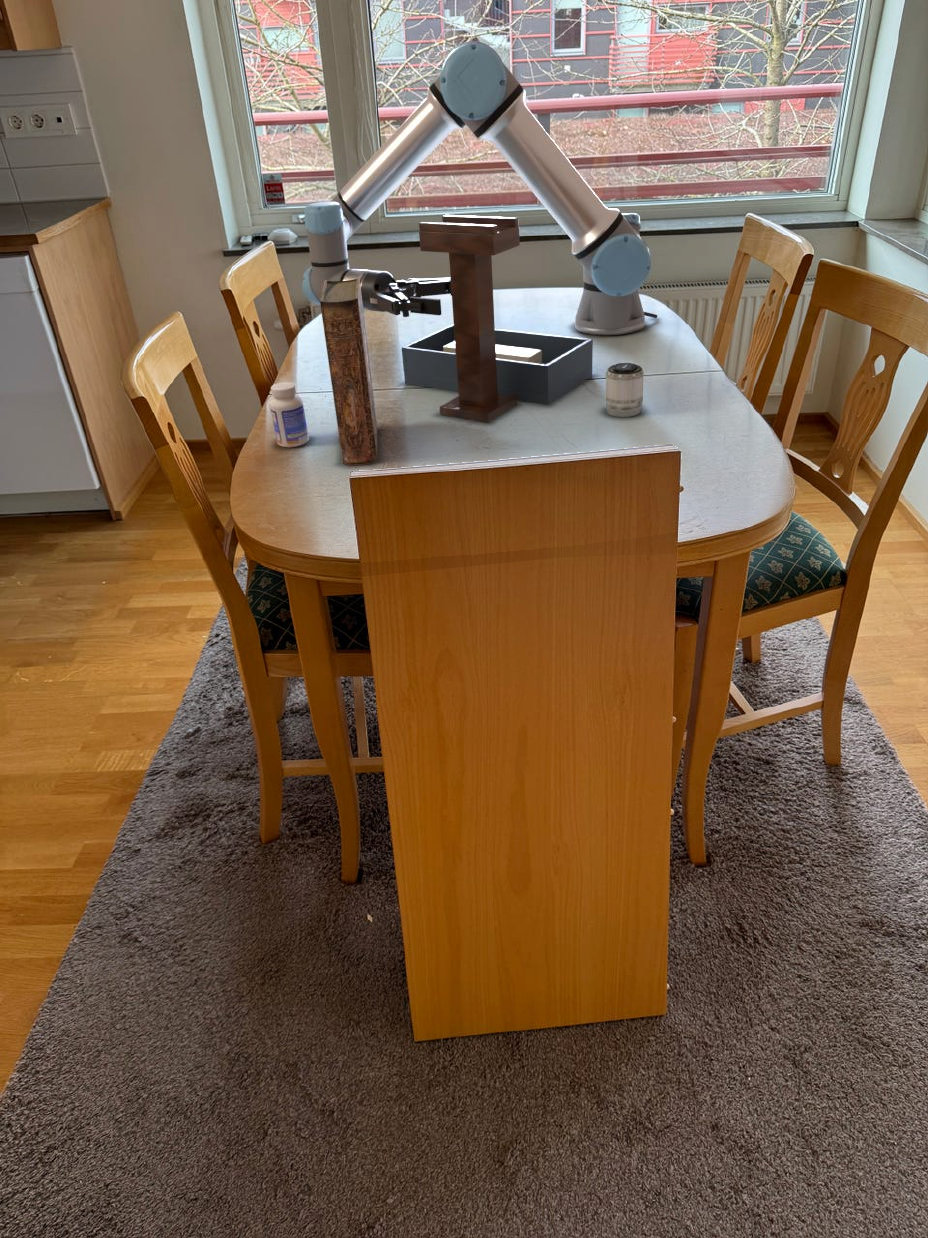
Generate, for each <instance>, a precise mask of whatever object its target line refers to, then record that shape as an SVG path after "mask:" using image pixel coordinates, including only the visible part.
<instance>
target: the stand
mask: <svg viewBox="0 0 928 1238" xmlns="http://www.w3.org/2000/svg"><path fill="white" fill-rule="evenodd" d="M441 219H442V222H431V221H429V222H428V221H427V222H426V221H421V222H419V223H418V229H419V231H418V235H419V248H420V249H419V250H420V252H429V253H445V254H448V257H449V258H448V260H449V274H450V275H449V278H450V277H451V291H452V296H451V305H452V318H453V319H452V320H453V324H454V335H455V350H456V365H457V379H458V392H457V393H458V396H456V397H455V398H453V399H451V400H449V401H447V402H445V403H444V404H442V405H440V406H439V415H440V416H445V417H451V418H457V419H462V420H469V421H473V422H474V421H475V422H481V423H486V424H489V423H491V422H493V420H495V419H497V418H498V417H500V416H502V415H503V414H505V413H507V412H508V411H510V410H511V409H513V408H514V407H516V406H518V401H517V396H510V395H504V394H498V390H497V368H496V345H495V329H496V328H495V327H496V325H495V304H494V301H495V300H494V283H493V280H494V279H493V262H492V261H493V259H492V256H496V255H499V254H501V253H504V252H506V251H509V250H512V249H515V248H517V247H519V246H520V245H521V242H520V238H521V237H520V224H519V217H513V216H512V217H510V216H509V217H508V216H483V215H481V216H480V215H458V214H456V215H455V214H445V215H444V214H443V215H442V216H441Z"/></svg>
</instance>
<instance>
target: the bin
mask: <svg viewBox="0 0 928 1238" xmlns="http://www.w3.org/2000/svg"><path fill="white" fill-rule="evenodd" d="M454 341H455V335H454V323H453V324H450V325H447V326H445V327H443V328H442V329H439V330H437V331H435V332H433V333H431V334H428V335H426V336H424V337H422V338H420V339H417V340H415V341H413V342H411V343H408V344H407V345H404V346H403V347H401V356H402V366H403V377H404V384H405V385H411V386H417V387H423V388H431V389H437V390H444V391H451V392H452V391H453V392H457V393H458V379H457V365H456V353H450V352H443V346H446V345H448V344H450V343H452V342H454ZM593 344H594V339H593V338H584V337H575V336H566V335H556V334H547V333H539V332H530V331H529V332H528V331H519V330H510V329H502V328H501V329H500V328H495V345H503V346H511V347H520V348H529V349H537V350H542V364H538V363H530V362H522V361H514V360H506V359H498V358H496V368H497V390H498V394H504V395H510V396H517V402H526V403H531V404H538V405H545V406H550V405H551V404H552V403H555V401H557V400H559V399H560V398H562V397H563V396H565V395H566V394H568V393H569V392H571V391H572V390H574V389H575V388H577V387H579V386H580V385H581V384H583V383H584V382H585V381H587V380H589V379H590V378H592V377H593V357H594V356H593V353H594V352H593V351H594V349H593V347H594V345H593Z"/></svg>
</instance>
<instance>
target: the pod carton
mask: <svg viewBox="0 0 928 1238" xmlns="http://www.w3.org/2000/svg"><path fill="white" fill-rule="evenodd" d="M443 352H450V353H456V350H455V341H454V342H452V343H450V344H448V345H446V346H443ZM496 358H498V359H506V360H514V361H522V362H530V363H538V364H542V350H537V349H529V348H520V347H511V346H503V345H496Z"/></svg>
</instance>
